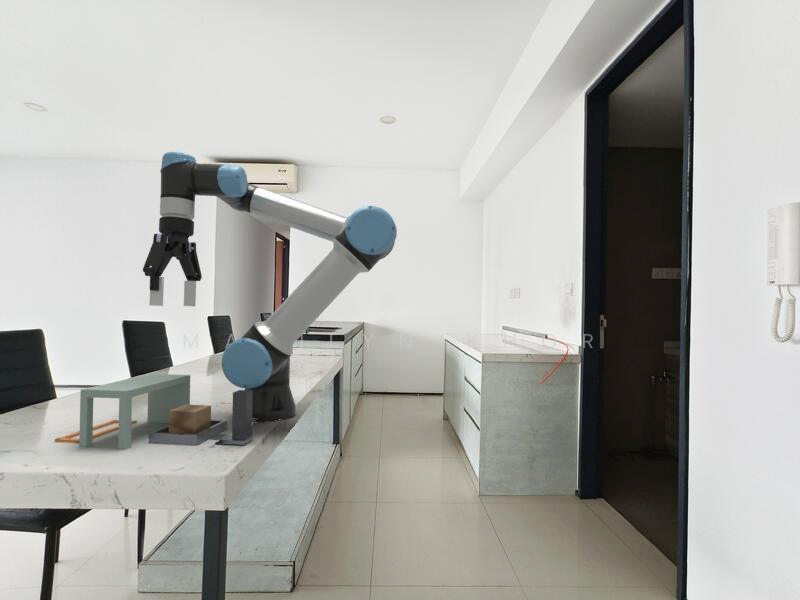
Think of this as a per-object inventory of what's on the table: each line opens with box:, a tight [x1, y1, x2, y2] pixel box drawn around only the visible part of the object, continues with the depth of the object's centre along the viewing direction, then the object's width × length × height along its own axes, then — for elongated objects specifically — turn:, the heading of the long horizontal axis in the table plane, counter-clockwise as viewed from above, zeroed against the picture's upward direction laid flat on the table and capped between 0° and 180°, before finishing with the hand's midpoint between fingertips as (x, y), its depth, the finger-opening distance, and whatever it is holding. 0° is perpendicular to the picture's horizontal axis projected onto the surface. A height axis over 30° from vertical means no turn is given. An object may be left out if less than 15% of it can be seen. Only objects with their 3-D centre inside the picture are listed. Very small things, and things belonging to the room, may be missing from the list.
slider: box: [148, 389, 254, 446], centre depth 94 cm, size 19×12×11 cm, turn 83°
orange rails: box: [54, 419, 138, 444], centre depth 97 cm, size 6×16×2 cm, turn 173°
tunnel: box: [78, 373, 191, 451], centre depth 96 cm, size 10×21×12 cm, turn 173°
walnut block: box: [168, 404, 212, 434], centre depth 94 cm, size 6×6×6 cm
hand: (173, 306), depth 104 cm, fingers open, 13 cm apart
